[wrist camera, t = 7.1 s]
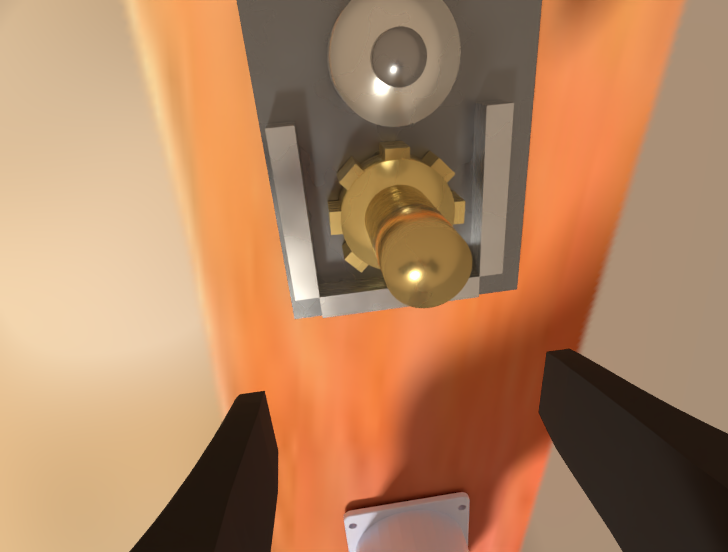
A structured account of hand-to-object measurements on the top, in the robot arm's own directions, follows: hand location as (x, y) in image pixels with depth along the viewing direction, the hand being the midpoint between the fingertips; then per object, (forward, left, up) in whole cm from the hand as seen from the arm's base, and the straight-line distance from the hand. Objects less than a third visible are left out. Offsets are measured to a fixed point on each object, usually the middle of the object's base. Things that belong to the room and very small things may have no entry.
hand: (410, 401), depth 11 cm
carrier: (+4, -2, -10) cm, 11 cm away
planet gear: (+2, -1, -9) cm, 9 cm away
